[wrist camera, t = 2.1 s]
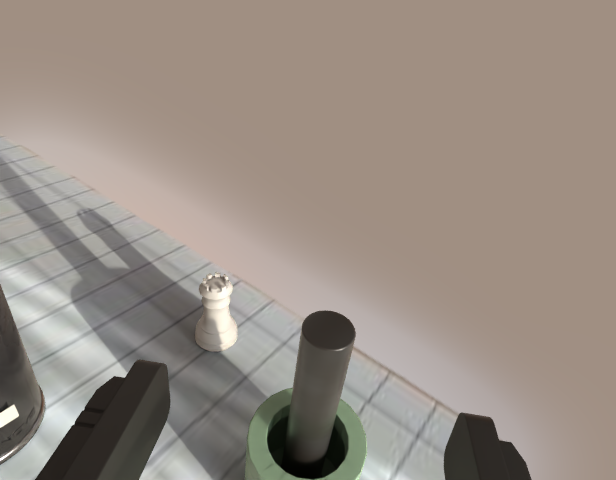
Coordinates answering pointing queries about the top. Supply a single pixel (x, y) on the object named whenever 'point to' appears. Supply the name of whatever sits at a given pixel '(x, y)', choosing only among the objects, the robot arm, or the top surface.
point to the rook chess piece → (216, 315)
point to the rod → (316, 391)
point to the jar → (272, 433)
